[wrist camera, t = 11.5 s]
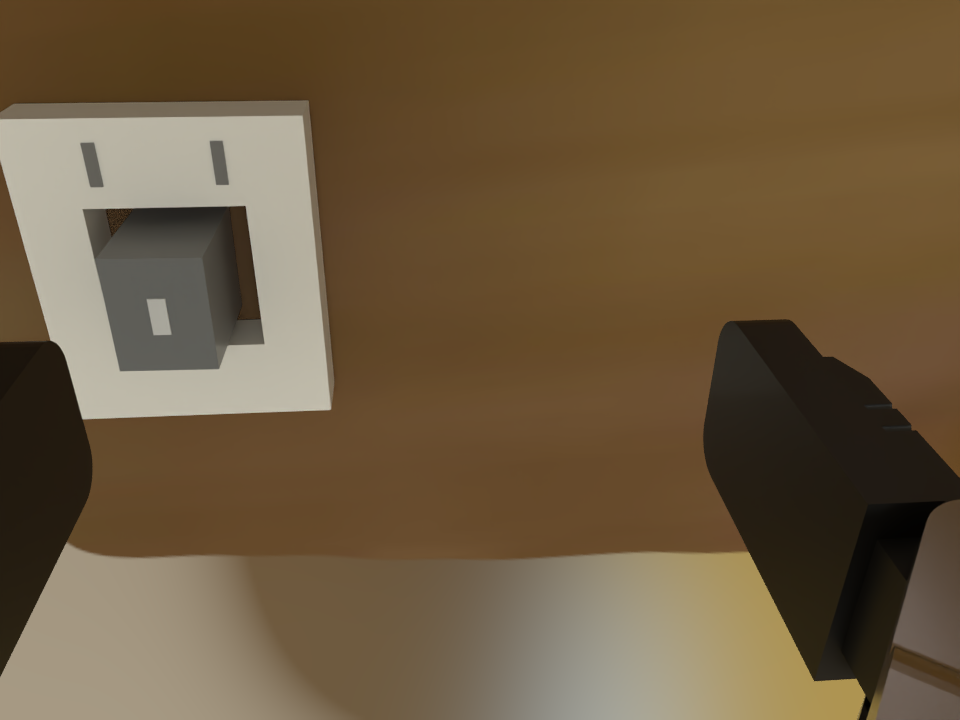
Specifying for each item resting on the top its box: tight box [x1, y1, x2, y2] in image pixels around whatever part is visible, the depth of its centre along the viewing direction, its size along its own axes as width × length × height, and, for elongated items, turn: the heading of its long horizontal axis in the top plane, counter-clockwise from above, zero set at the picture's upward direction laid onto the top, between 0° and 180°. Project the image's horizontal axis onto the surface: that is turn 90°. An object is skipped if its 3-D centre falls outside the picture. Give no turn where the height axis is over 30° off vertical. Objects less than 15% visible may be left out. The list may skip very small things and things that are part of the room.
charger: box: [95, 206, 242, 371], centre depth 37 cm, size 5×4×6 cm
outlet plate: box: [0, 100, 334, 419], centre depth 38 cm, size 14×12×3 cm
